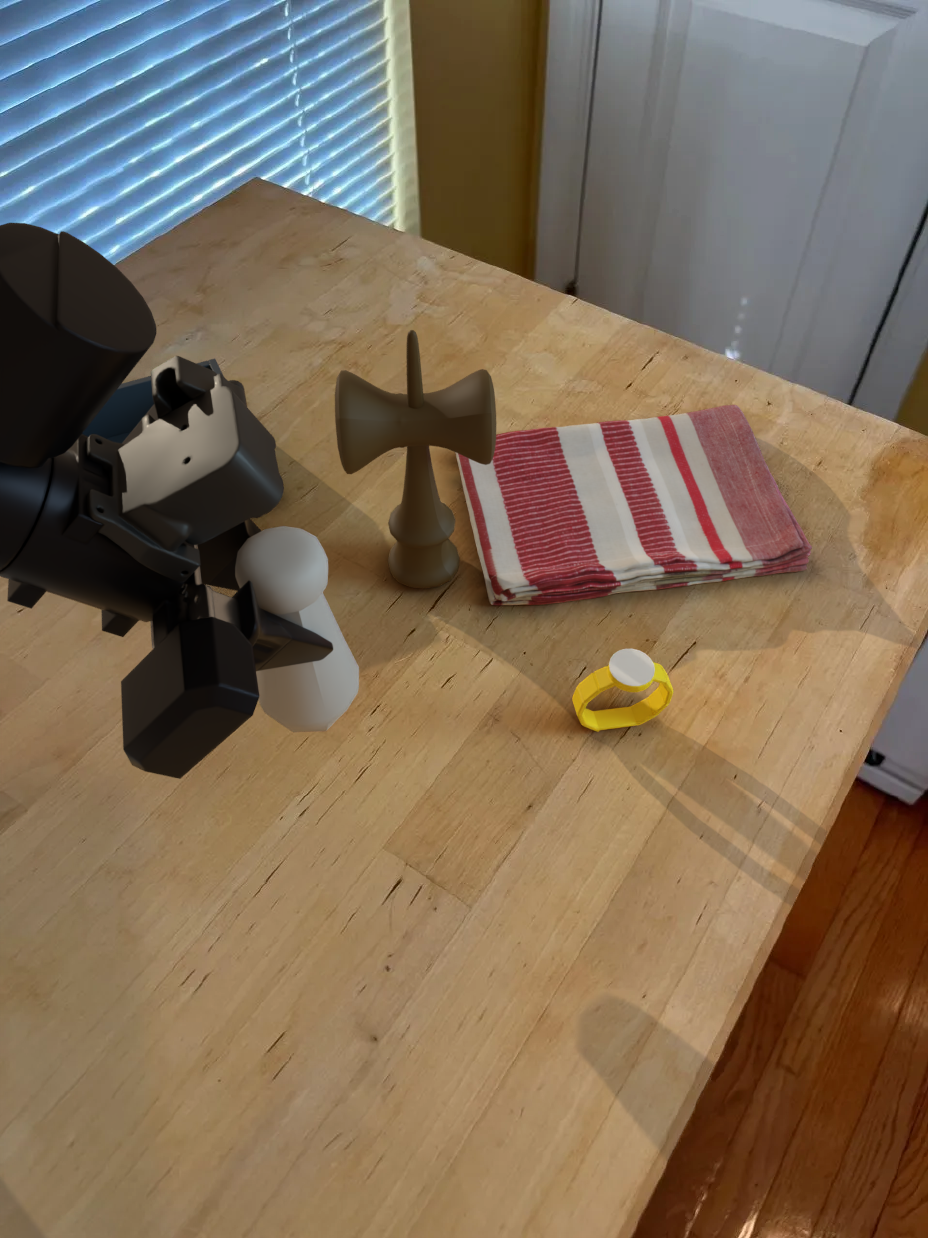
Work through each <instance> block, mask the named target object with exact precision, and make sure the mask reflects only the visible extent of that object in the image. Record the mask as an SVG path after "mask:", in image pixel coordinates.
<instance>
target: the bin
mask: <svg viewBox="0 0 928 1238" xmlns="http://www.w3.org/2000/svg"><path fill="white" fill-rule="evenodd" d="M195 363H196V364H199V365H201V366H203V367H206V368H208V369H210V370H212V371H214V372H215V373H217V374H220V373H221V374H222V375H223V376H224V374H223V371H222V369H221V368H220V365H219V363H218V361H217V359H216V358H215V357H214V358H211V359H207V360H204V361H200V362H195ZM153 405H154V401H153V396H152V384H151V375H148V376H144V377H141V378H137V379H133V380H130V381H126V382H122V384H121V385H120V386H119V387H118V389H117V390H116V391H115V392H114V394H113V395H112V396H111V397H110V399H109V400H108V401H107V403H106V404H105V405H104V406H103V408H102V409H101V410H100V411H99V413H98V414H97V415H96V417H95V418H94V419H93V420H92V422H91V423H90V424H89V425H88V427H87V428H86V429H85V431H84V432H83V433H82V434H83V435H85V436H88V437H89V436H90V435H91V434H96V435H99V436H101V437H103V438H106V439H108V440H110V441H112V442H116V443H121V444H122V443H123V441H124V440H125V439H126V438H127V437H128V435H129V434H130V433H131V432H132V430H133V429H134V428H135V427H136V426H137V424H138V423H139V422H140V421H141V419H142V418H143V417H144V416H145V415H146V413H147V412H148V411H149V410H150V408H151V407H152V406H153Z"/></svg>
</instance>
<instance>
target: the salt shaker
mask: <svg viewBox="0 0 928 1238" xmlns="http://www.w3.org/2000/svg"><path fill="white" fill-rule="evenodd" d="M235 577H236V580H237V582H238V585H239V587H240V588H241V587H242V586H243V585H244V584H245V583H246V582H247V581H248V580H250V581H251V582H252V583H253V587H254V590H255V594H256V598H257V601H258V605H259V607H260V608H261V609H263V610H266V611H268V612H270V613H272V614H275V615H277V616H279V617H281V618H284V619H286V620H288V621H290V622H293V623H295V624H297V625H299V626H302V627H304V628H306V629H308V630H310V631H313V632H315V633H316V634H318V635H320V636H322V637H323V638H325V639H327V640H328V641H330V642H331V643H332V644H333V651H332V652H331V653H330V654H329V655H327V656H326V657H325V658H324V659H322V660H320V661H314V662H308V663H302V664H296V665H290V666H285V667H279V668H273V669H267V670H261V671H256V675H257V682H258V689H259V699H258V703H259V705H260V708H261V709H262V711H263V713H264V714H265V715H267V716H268V717H270V718H271V719H272V720H274V721H275V722H277V723H279V724H280V725H281V726H283V727H284V728H286V729H287V730H289V731H290V732H292V733H318V732H319V733H321V732H323V733H324V732H327V731H328V730H329V729H330V728H331V727H333V725H334V724H335V723H336V722H337V721H338V720H339V719H340V718H341V717H342V716H343V715H344V714H345V713H346V712H347V711H348V709H349V708H350V707H351V704H352V703H353V701H354V700H355V698H356V696H357V695H358V693H359V688H360V667H359V665H358V663H357V660H356V658H355V656H354V655H353V653H352V651H351V649H350V646H349V644H348V643H347V641H346V638H345V637H344V634H343V633H342V630H341V628H340V626H339V624H338V621H337V619H336V617H335V615H334V613H333V611H332V609H331V607H330V604H329V603H328V600H327V598H326V596H325V594H324V591H325V589H326V588H327V586H328V583H329V582H328V581H329V558H328V555H327V554H326V551H325V549H324V547H323V546H322V544H321V543H320V540H319V538H318V537H317V536H316V535H314V534H312V533H310V532H309V531H307V530H305V529H303V528H299V527H293V526H286V525H280V526H276V527H275V526H274V527H269V528H266V529H263V530H261V532H259V533H257V534H255V535H254V536H252V537H250V538H248V539H247V540H246V542H245V543H244V544H243V546H242V547H241V548H240V550H239V551H238V553H237V559H236V566H235Z"/></svg>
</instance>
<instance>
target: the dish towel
mask: <svg viewBox="0 0 928 1238" xmlns="http://www.w3.org/2000/svg"><path fill="white" fill-rule="evenodd" d="M454 453H455V457H456V461H457V465H458V469H459V475H460V480H461V485H462V490H463V494H464V498H465V502H466V503H465V504H466V507H467V510H468V515H469V520H470V525H471V529H472V532H473V538H474V543H475V546H476V550H477V555H478V559H479V562H480V566H481V569H482V574H483V578H484V583H485V587H486V588H485V589H486V593H487V597H488V601H489V604H490V605H492V606H518V605H519V606H520V605H530V606H531V605H550V604H559V603H565V602H566V603H567V602H575V601H583V600H591V599H597V598H603V597H607V596H610V595H615V594H618V593H629V592H643V591H644V592H645V591H652V590H654V591H655V590H665V589H670V588H671V589H672V588H679V587H688V586H692V585H699V584H709V583H717V582H718V583H719V582H725V581H732V580H737V579H745V578H751V577H760V576H761V577H764V576H770V575H775V574H783V573H795V572H797V573H798V572H804V571H807V569H808V565H807V564H809V562H810V560H809V557H810V555H812V552H811V550H812V549H813V546H812V545H811V544H810V542H809V539H807V536H806V534H805V533H804V531H803V528H802V527H801V525H800V524H799V522H798V521H797V518H796V517H795V515H794V513H793V512H792V510H791V508H790V506H789V505H788V503H787V502H786V500H785V498H784V496H783V494H782V492H781V491H780V489H779V486H778V484H777V482H776V480H775V478H774V476H773V475H772V473H771V471H770V469H769V466H768V464H767V463H766V460H765V458H764V455H763V453H762V450H761V448H760V446H759V444H758V441H757V438H756V436H755V434H754V431H753V429H752V426H751V425H750V423H749V421H748V419H747V417H746V415H745V414H744V412H743V411H742V409H741V408H740V407H739V405H737V404H725V405H720V406H715V407H710V408H705V409H700V410H694V411H690V412H683V413H677V414H670V415H660V416H654V417H649V418H647V417H646V418H636V419H630V420H629V419H627V420H626V419H622V420H621V419H620V420H606V421H599V422H594V423H582V424H571V425H565V426H551V427H540V428H531V429H522V430H521V429H520V430H514V431H506V432H501V433H496V446H495V452H494V456H493V459H492V461H491V463H490V464H487V465H484V464H480V463H478V462H475V461H473V460H471V459H469V458H467V457H465V456H463V455H460V454H458V453H456V452H454Z"/></svg>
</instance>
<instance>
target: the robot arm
mask: <svg viewBox="0 0 928 1238" xmlns="http://www.w3.org/2000/svg"><path fill="white" fill-rule="evenodd" d="M156 336H157V324H156V321H155V318H154V315H153V311H152V310H151V308H150V307H149V305H148V303H147V301H146V299H145V298H144V296H143V295H142V293H140V291H139V290H138V289H137V288H136V286H135V285H134V284H133V282H132V281H131V280H130V279H129V278H128V277H127V276H126V275H125V274H124V273H123V272H122V271H121V270H120V269H119V268H118V267H117V266H116V265H114V264H113V263H112V262H111V261H110V260H109V259H107V258H106V257H105V256H104V255H102V254H101V253H100V252H99V251H97V250H96V249H94V248H93V247H91V246H90V245H89V244H87V243H85V242H84V241H83V240H81V239H79V238H77V236H74V235H72V234H70V233H69V232H67V231H64V230H61V231H60V232H59V233H56V232H54V231H52V230H50V229H47V228H44V227H41V226H37V225H33V224H29V223H25V222H7V223H3V224H0V577H1V578H4V579H7V580H8V583H7V599H6V602H9V603H12V604H14V605H18V606H22V607H25V608H28V609H33V608H34V607H35V605H36V604H37V603H38V602H39V601H40V600H41V599H42V598H43V596H45V594H46V593H50V594H52V595H55V596H59V597H62V598H64V599H68V600H71V601H74V602H77V603H80V604H83V605H86V606H89V607H91V608H95V609H98V610H101V611H100V612H101V631H102V632H105V633H108V634H111V635H114V636H118V637H121V638H124V637H126V635H127V634H128V633H129V632H130V631H131V630H132V628H134V626H136V624H138V623H139V621H140V622H143V623H149V622H150V623H149V624H150V636H151V648H152V649H151V651H150V652H148V654H147V655H146V656H144V657H143V659H141V661H140V662H138V663H137V665H135V667H133V669H132V670H130V672H128V674H127V675H125V677H124V678H123V679H121V681H120V694H121V695H120V696H121V722H122V750H123V752H124V753H125V755H126V757H127V759H128V761H129V763H130V764H131V766H133V767H135V768H137V769H139V770H141V771H143V772H145V773H150V774H155V775H160V776H164V777H169V778H173V779H179V780H180V779H182V778H183V777H185V775H187V773H189V772H190V771H191V770H192V769H194V768H195V767H196V766H197V765H198V764H199V763H200V762H202V760H204V759H205V758H206V757H207V756H208V755H210V754H211V752H213V751H214V750H215V749H216V748H217V747H219V746H220V745H221V744H222V743H223V742H225V740H227V739H228V738H229V737H230V736H231V735H232V734H233V733H234V732H235V731H237V730H238V729H239V728H241V727H242V725H244V724H245V723H246V722H247V721H248V720H250V719H251V718H252V717H253V716H254V713H255V710H256V707H257V705H258V703H259V701H258V699H259V689H258V682H257V675H256V671H261V670H267V669H273V668H279V667H285V666H290V665H296V664H302V663H308V662H314V661H320V660H322V659H324V658H325V657H326V656H327V655H329V654H330V653H331V652H332V651H333V644H332V643H331V642H330V641H328V640H327V639H325V638H323V637H322V636H320V635H318V634H316V633H315V632H313V631H310V630H308V629H306V628H304V627H302V626H299V625H297V624H295V623H293V622H290V621H288V620H286V619H284V618H281V617H279V616H277V615H275V614H272V613H270V612H268V611H266V610H263V609H261V608H260V607H259V605H258V601H257V598H256V594H255V590H254V587H253V583H252V582H251V581H250V580H248V581H247V582H246V583H245V584H244V585H243V586H242V587H241V588H240V587H239V585H238V582H237V580H236V577H235V566H236V559H237V553H238V551H239V550H240V548H241V547H242V546H243V544H244V543H245V542H246V540H247V539H248V538H250V537H252V536H254V535H255V534H257V533H259V532H261V531H262V530H261V528H260V527H259V526H258V525H257V524H256V523H255V522H254V521H253V520H252V519H259V518H261V517H263V516H266V515H267V514H268V513H270V512H272V511H273V510H274V509H275V508H276V507H277V506H278V505H279V504H280V502H281V500H282V498H283V496H284V493H285V492H284V491H285V487H284V480H283V478H282V476H281V474H280V470H279V465H278V460H277V454H276V448H277V443H276V442H277V441H276V439H275V437H274V436H273V434H271V432H270V431H269V430H268V429H267V428H266V426H265V425H264V424H263V423H262V421H260V420H259V419H258V417H256V415H255V414H254V413H253V412H252V411H251V410H250V409H249V407H248V403H247V397H246V396H247V395H246V392H245V387H244V384H243V383H242V382H240V381H239V380H235V379H230V380H228V379H227V378H226V377H225V376H224V374H223V373H222V374H223V375H222V374H221V373H220V374H217V373H215V372H214V371H212V370H210V369H208V368H206V367H203V366H201V365H199V364H196V363H197V362H194V361H191V360H189V359H187V358H184V357H182V356H179V355H174V356H173V357H171V358H169V359H167V360H166V361H164V362H162V363H161V364H159V365H157V366H156V367H154V368H152V369H151V371H150V376H151V384H152V396H153V401H154V405H153V406H152V407H151V408H150V410H149V411H148V412H147V413H146V415H145V416H144V417H143V418H142V419H141V421H140V422H139V423H138V424H137V426H136V427H135V428H134V429H133V430H132V432H131V433H130V434H129V435H128V437H127V438H126V439H125V440H124V441H123V443H122V444H121V443H116V442H112V441H110V440H108V439H106V438H103V437H101V436H99V435H96V434H91V435H90V436H89V437H88V436H85V435H83V434H82V433H83V432H84V431H85V429H86V428H87V427H88V425H89V424H90V423H91V422H92V420H93V419H94V418H95V417H96V415H97V414H98V413H99V411H100V410H101V409H102V408H103V406H104V405H105V404H106V403H107V401H108V400H109V399H110V397H111V396H112V395H113V394H114V392H115V391H116V390H117V389H118V387H119V386H120V385H121V384H122V383H124V381H125V380H126V378H127V377H128V376H129V375H130V373H131V372H132V371H133V370H134V368H135V367H136V366H137V364H138V363H139V362H140V361H141V360H142V359H143V357H144V356H145V355H146V353H147V352H148V351H149V350H150V348H151V347H152V346H153V344H154V343H155V340H156ZM213 587H215V588H221V589H226V590H230V591H235V593H233V595H231V596H229V595H226V594H225V593H224V594H223V593H221V592H219V591H216V590H213Z"/></svg>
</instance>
